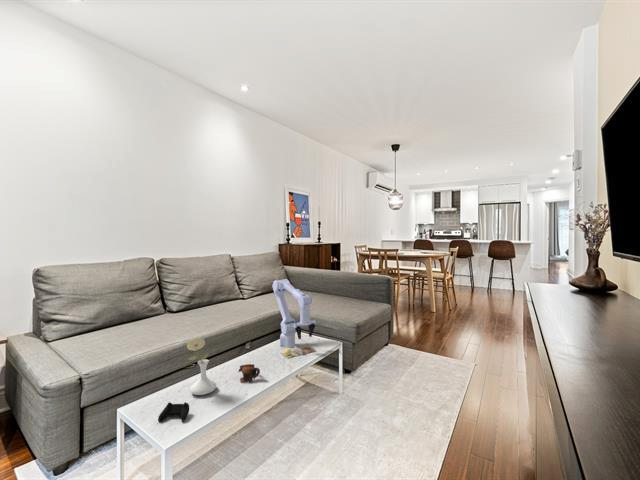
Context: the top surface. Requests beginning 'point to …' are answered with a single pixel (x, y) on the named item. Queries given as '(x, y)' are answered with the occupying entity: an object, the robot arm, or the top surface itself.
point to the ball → (287, 352)
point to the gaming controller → (175, 411)
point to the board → (299, 352)
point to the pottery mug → (248, 372)
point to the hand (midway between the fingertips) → (304, 337)
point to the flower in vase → (203, 383)
